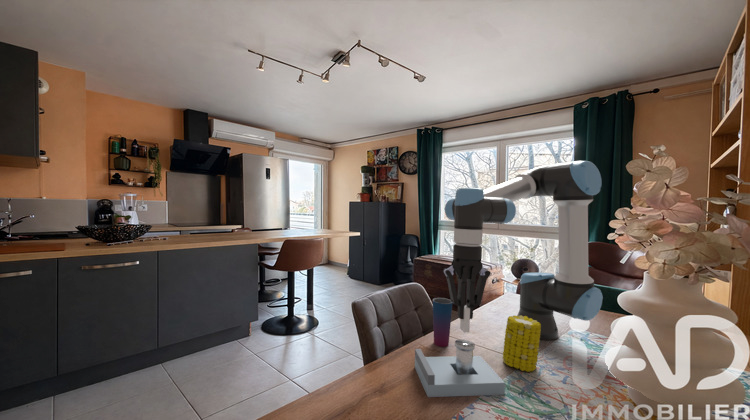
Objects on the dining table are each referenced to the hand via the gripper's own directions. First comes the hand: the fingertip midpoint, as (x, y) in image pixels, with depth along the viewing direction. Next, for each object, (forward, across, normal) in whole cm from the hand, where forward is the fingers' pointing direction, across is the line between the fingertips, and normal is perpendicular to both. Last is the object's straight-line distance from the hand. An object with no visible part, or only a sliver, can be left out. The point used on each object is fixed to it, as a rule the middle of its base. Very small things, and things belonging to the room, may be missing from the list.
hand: (464, 330), depth 82 cm
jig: (+14, +2, 0) cm, 14 cm away
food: (+14, -21, -7) cm, 26 cm away
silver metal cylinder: (+14, 0, 0) cm, 14 cm away
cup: (+14, -1, -22) cm, 26 cm away
